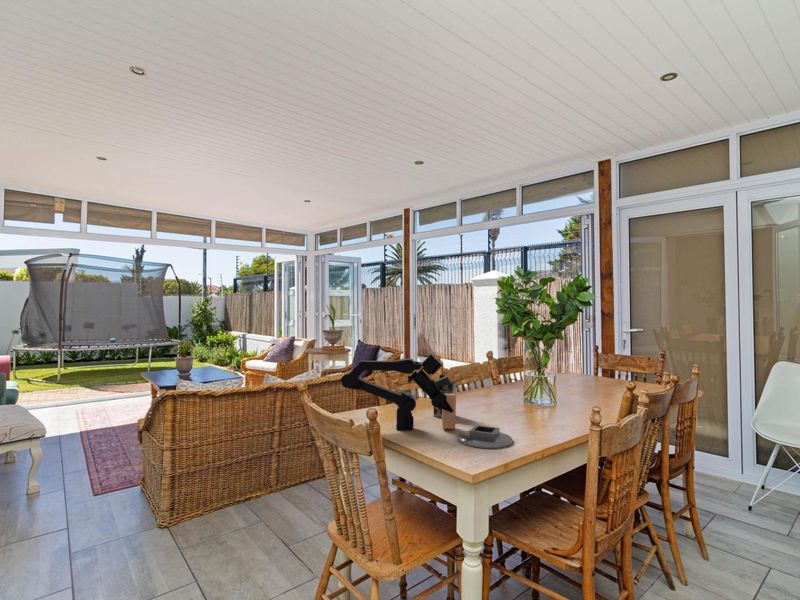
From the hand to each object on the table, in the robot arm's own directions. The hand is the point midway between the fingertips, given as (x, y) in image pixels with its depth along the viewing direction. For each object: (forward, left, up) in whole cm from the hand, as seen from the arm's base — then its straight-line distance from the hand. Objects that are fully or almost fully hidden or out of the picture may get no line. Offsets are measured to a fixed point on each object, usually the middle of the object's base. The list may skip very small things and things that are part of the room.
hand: (452, 410), depth 176 cm
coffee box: (+1, +21, -8) cm, 23 cm away
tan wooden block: (-1, 0, -7) cm, 7 cm away
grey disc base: (+10, -15, -8) cm, 19 cm away
